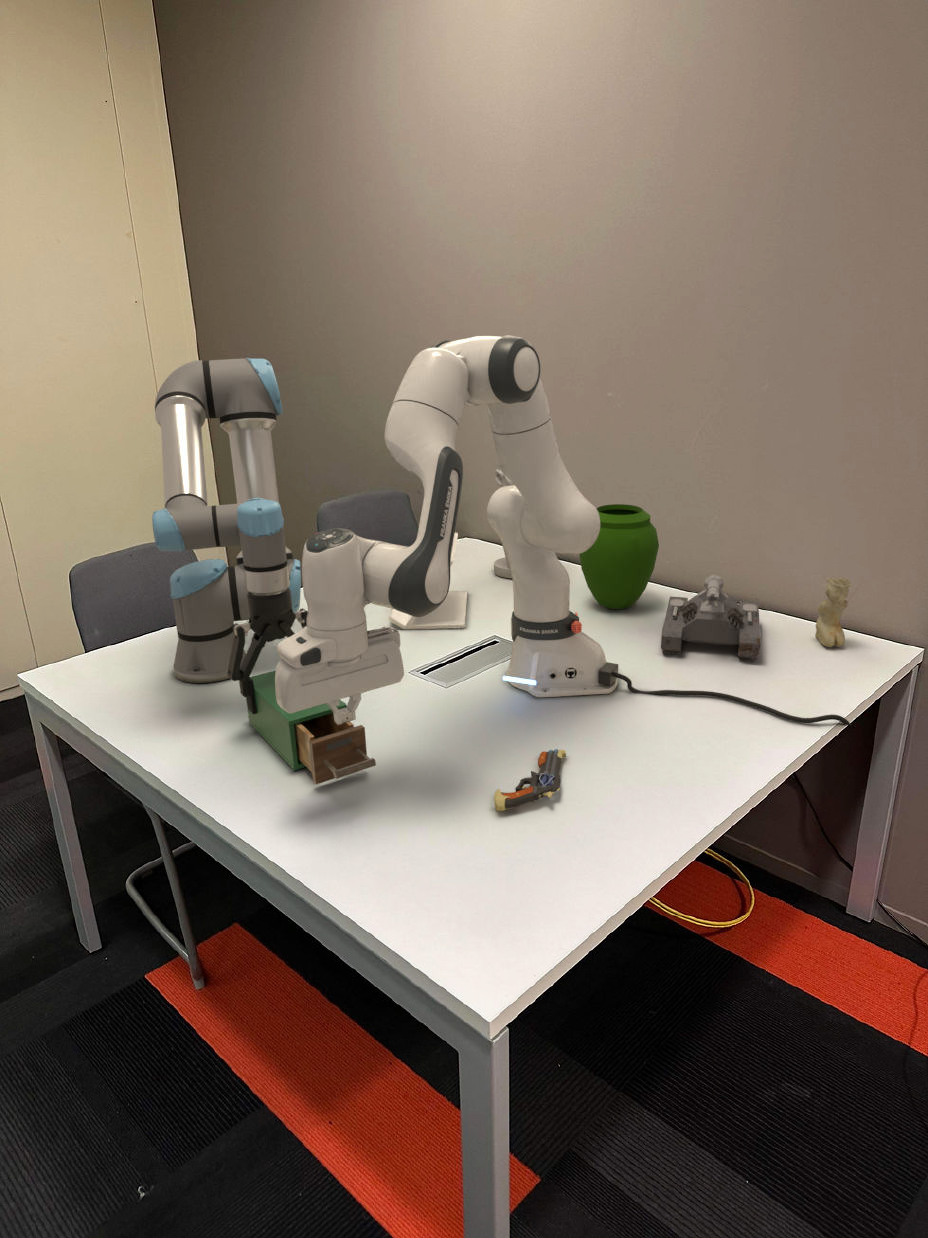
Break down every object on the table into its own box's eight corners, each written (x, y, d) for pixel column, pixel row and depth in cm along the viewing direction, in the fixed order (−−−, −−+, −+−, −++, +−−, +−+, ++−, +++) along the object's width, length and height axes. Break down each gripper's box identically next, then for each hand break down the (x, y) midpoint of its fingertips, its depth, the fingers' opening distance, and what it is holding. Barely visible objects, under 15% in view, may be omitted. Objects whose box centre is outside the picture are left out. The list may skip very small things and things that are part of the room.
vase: (599, 587, 227) (601, 497, 218) (668, 600, 216) (673, 505, 208) (562, 608, 212) (564, 513, 204) (634, 623, 202) (639, 523, 193)
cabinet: (350, 752, 148) (346, 704, 145) (294, 770, 143) (288, 721, 140) (301, 708, 165) (296, 664, 162) (249, 723, 160) (243, 678, 156)
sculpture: (821, 649, 184) (830, 583, 179) (808, 637, 191) (816, 573, 185) (848, 649, 184) (858, 582, 179) (834, 636, 191) (843, 572, 185)
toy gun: (490, 800, 128) (557, 798, 126) (507, 746, 146) (566, 744, 144) (492, 816, 129) (558, 814, 127) (509, 761, 147) (567, 758, 145)
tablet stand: (467, 593, 225) (465, 531, 219) (465, 628, 202) (462, 559, 196) (399, 594, 226) (395, 532, 220) (388, 629, 203) (384, 560, 197)
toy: (668, 615, 206) (672, 556, 200) (756, 622, 200) (762, 561, 195) (660, 656, 183) (663, 590, 178) (758, 664, 177) (765, 596, 172)
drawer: (384, 781, 137) (381, 741, 134) (331, 800, 132) (327, 758, 129) (317, 721, 157) (313, 685, 155) (269, 736, 153) (264, 699, 150)
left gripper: (320, 572, 159) (330, 680, 166) (196, 597, 147) (214, 712, 155) (337, 581, 153) (347, 693, 160) (210, 609, 141) (227, 728, 149)
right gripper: (389, 617, 135) (394, 696, 140) (266, 647, 125) (276, 731, 130) (408, 629, 130) (413, 710, 135) (282, 661, 120) (292, 748, 125)
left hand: (281, 702), depth 158 cm, fingers closed on cabinet, 10 cm apart
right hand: (345, 721), depth 132 cm, fingers closed
